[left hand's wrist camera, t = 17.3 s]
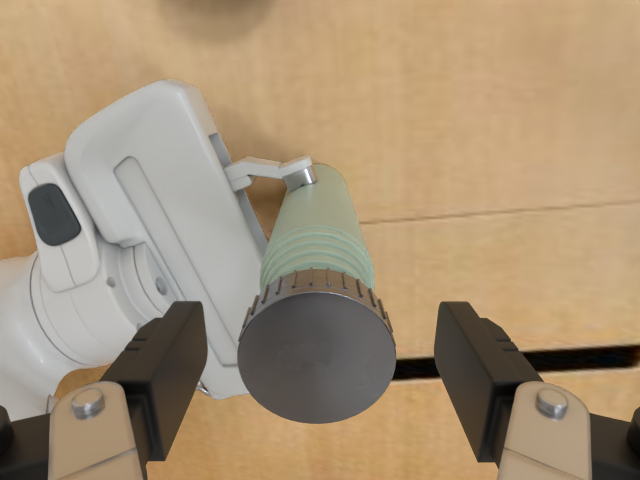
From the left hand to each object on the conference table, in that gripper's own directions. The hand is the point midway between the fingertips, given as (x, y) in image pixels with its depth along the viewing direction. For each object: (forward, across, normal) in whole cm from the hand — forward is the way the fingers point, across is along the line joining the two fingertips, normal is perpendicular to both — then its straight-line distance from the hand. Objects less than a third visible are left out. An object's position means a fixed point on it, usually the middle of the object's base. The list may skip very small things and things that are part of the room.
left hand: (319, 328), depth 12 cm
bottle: (+19, 0, 0) cm, 19 cm away
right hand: (+13, -1, 0) cm, 13 cm away
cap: (-1, 0, 0) cm, 1 cm away
